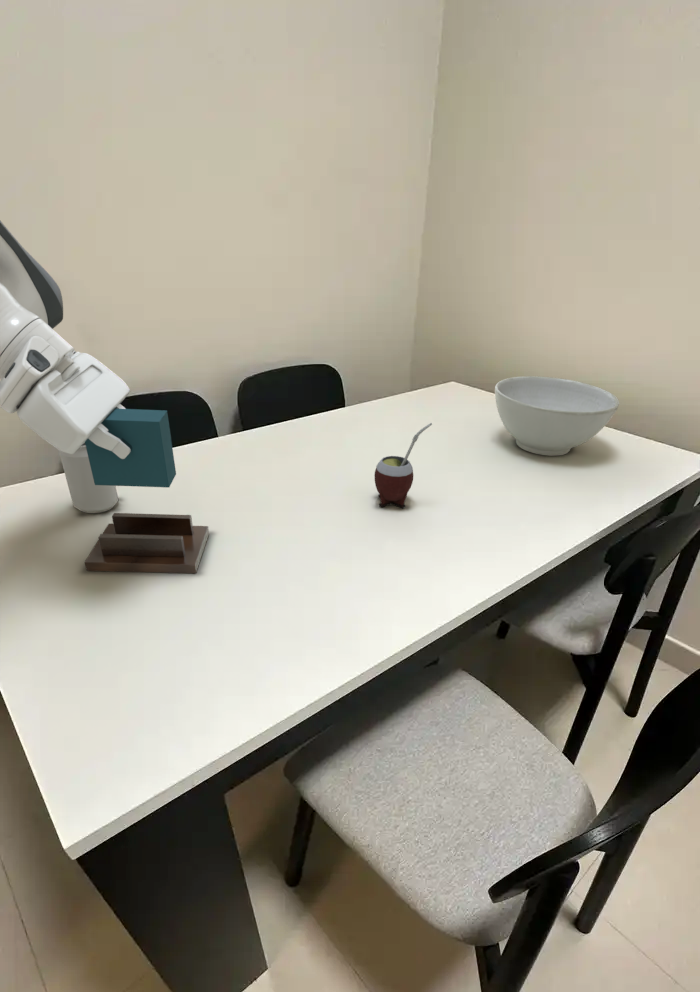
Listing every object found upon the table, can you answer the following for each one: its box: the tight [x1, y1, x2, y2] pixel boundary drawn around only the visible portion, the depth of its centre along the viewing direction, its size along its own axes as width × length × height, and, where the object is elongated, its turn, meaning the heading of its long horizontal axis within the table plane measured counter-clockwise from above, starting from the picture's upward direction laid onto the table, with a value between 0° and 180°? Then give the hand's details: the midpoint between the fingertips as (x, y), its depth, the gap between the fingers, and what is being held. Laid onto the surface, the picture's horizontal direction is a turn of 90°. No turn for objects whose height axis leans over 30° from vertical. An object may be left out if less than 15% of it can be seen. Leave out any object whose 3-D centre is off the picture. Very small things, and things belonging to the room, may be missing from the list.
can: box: [58, 442, 119, 514], centre depth 98 cm, size 8×8×12 cm
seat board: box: [84, 512, 210, 574], centre depth 89 cm, size 16×12×4 cm
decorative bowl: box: [494, 375, 620, 457], centre depth 132 cm, size 27×27×12 cm
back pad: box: [85, 408, 177, 488], centre depth 78 cm, size 10×4×9 cm, turn 92°
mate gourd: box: [373, 422, 433, 509], centre depth 104 cm, size 8×8×15 cm
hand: (134, 445), depth 78 cm, fingers closed on back pad, 4 cm apart
